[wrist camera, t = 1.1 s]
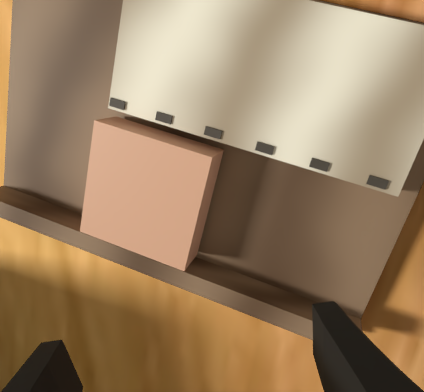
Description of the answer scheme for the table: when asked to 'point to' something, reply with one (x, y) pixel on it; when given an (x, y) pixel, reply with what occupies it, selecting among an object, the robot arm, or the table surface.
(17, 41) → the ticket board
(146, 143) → the peach pink block
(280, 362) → the table surface
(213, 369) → the table surface
